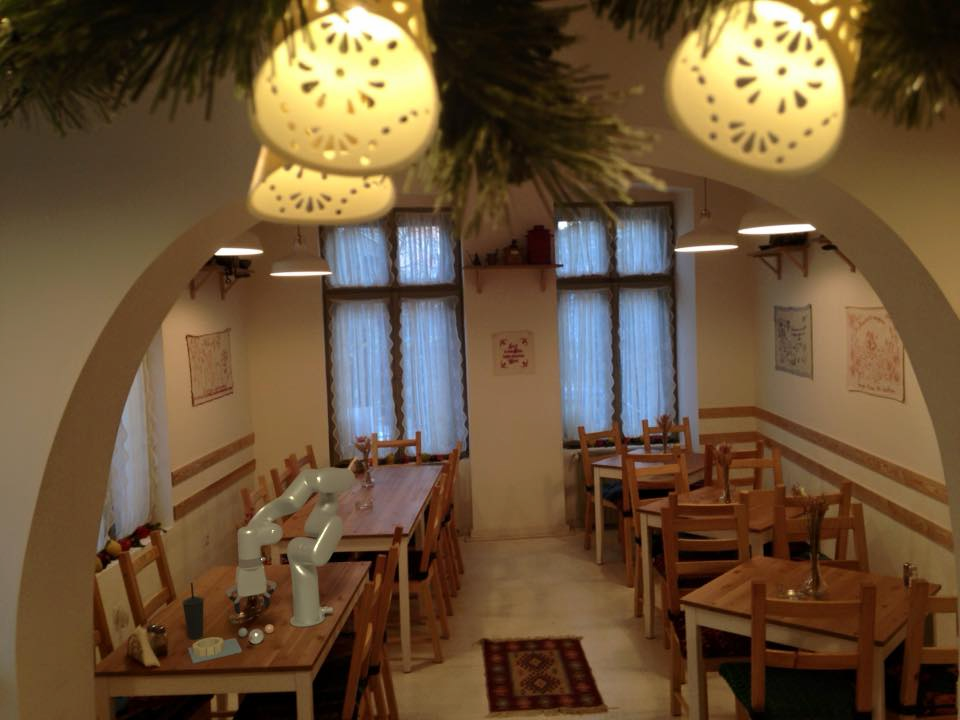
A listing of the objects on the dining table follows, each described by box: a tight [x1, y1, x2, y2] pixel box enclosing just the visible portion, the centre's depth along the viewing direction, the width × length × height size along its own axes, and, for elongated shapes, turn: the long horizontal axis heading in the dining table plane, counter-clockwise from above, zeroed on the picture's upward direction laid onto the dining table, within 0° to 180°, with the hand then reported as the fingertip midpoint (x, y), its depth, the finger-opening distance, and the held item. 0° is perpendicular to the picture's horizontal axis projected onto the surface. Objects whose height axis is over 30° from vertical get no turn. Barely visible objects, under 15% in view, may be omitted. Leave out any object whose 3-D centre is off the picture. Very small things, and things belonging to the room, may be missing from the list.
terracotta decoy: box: [264, 624, 275, 635], centre depth 300 cm, size 3×3×3 cm
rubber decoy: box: [237, 627, 248, 638], centre depth 298 cm, size 3×3×3 cm
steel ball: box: [248, 628, 264, 645], centre depth 291 cm, size 5×5×5 cm
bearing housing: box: [187, 636, 243, 664], centre depth 286 cm, size 16×12×4 cm
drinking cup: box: [181, 582, 205, 641], centre depth 300 cm, size 8×8×20 cm
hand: (252, 610), depth 290 cm, fingers open, 9 cm apart
